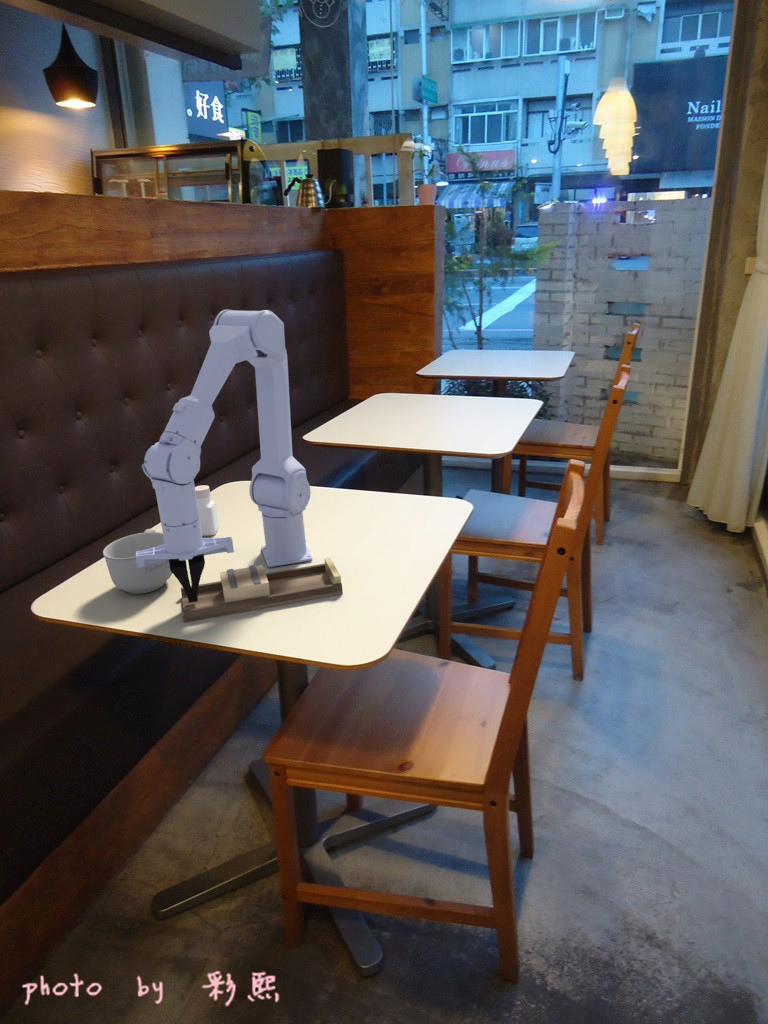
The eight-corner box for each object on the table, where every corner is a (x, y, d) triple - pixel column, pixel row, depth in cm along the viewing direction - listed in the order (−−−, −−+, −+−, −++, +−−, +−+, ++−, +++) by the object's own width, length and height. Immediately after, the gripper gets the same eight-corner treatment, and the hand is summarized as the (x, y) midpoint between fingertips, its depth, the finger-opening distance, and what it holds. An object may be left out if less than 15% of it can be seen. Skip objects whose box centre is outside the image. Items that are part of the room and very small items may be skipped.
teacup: (159, 602, 122) (151, 557, 119) (98, 599, 124) (89, 555, 121) (194, 565, 135) (188, 524, 132) (139, 564, 137) (131, 523, 134)
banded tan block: (222, 589, 124) (219, 570, 122) (264, 582, 125) (262, 563, 124) (226, 608, 117) (223, 588, 116) (270, 600, 119) (268, 581, 118)
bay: (182, 597, 123) (179, 581, 122) (330, 571, 129) (329, 556, 128) (184, 622, 115) (181, 605, 114) (342, 593, 121) (341, 577, 120)
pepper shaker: (215, 536, 147) (208, 490, 144) (195, 537, 148) (188, 491, 144) (219, 528, 151) (213, 484, 148) (200, 529, 151) (193, 485, 148)
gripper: (130, 536, 109) (145, 619, 114) (230, 521, 112) (241, 602, 117) (131, 520, 115) (145, 599, 120) (226, 506, 119) (237, 583, 123)
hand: (193, 599), depth 119 cm, fingers closed
